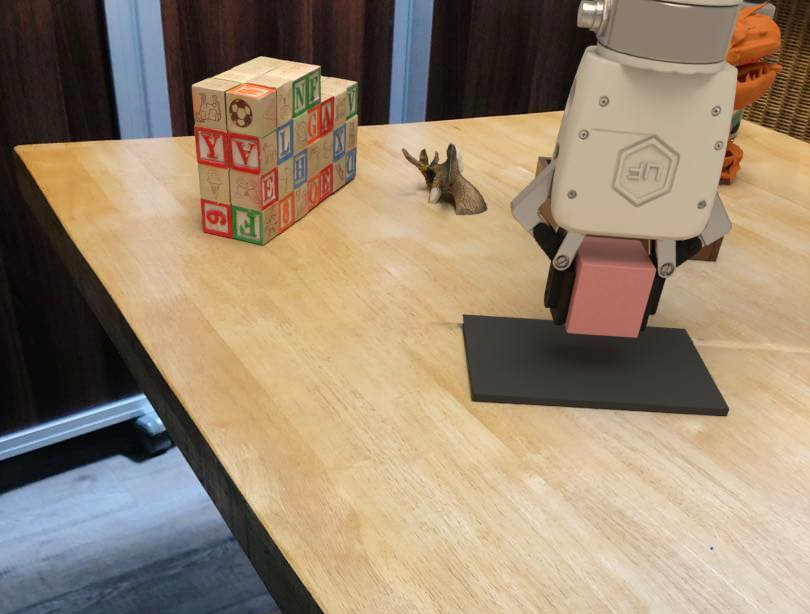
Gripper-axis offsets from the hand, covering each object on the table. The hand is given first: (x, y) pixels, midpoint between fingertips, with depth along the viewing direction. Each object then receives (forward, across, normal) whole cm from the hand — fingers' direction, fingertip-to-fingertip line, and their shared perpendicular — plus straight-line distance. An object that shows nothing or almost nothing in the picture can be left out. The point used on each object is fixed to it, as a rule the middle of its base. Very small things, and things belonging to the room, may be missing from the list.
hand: (596, 317), depth 62 cm
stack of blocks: (+4, -25, +29) cm, 39 cm away
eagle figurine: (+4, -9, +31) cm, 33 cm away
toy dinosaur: (+4, +21, +46) cm, 51 cm away
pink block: (0, 0, 0) cm, 0 cm away
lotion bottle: (+4, +29, +66) cm, 72 cm away
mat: (+4, 0, 0) cm, 4 cm away
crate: (+4, +8, +28) cm, 29 cm away
